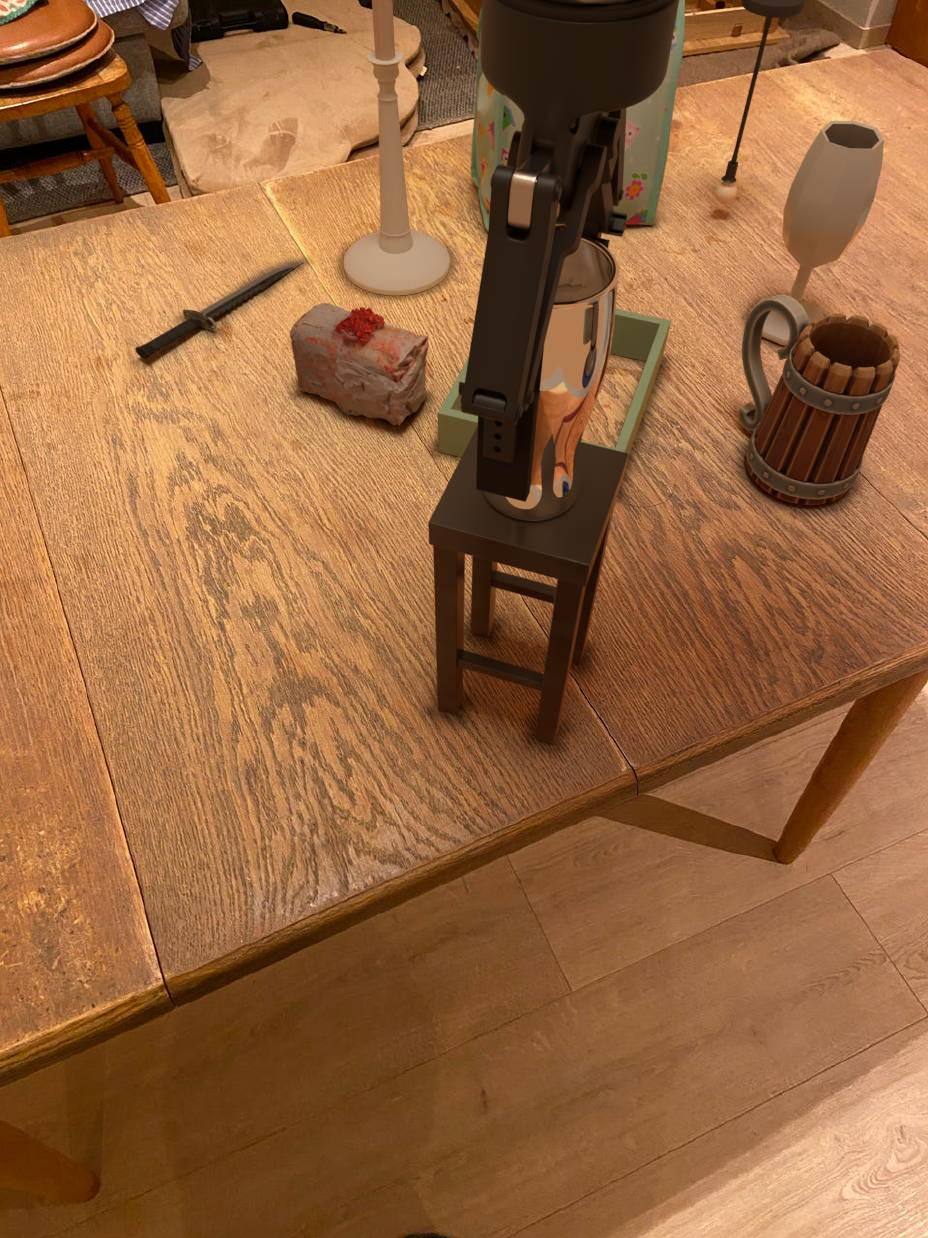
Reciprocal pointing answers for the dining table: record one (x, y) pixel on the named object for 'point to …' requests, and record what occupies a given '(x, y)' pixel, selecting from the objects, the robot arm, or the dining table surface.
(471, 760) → the dining table surface
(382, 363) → the food item
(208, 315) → the knife
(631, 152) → the lunch bag
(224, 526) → the dining table surface
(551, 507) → the beer glass
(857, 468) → the mug
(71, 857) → the dining table surface
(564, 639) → the stool
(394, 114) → the candlestick
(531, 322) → the robot arm
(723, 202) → the light fixture
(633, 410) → the green rectangular open frame
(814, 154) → the wineglass
